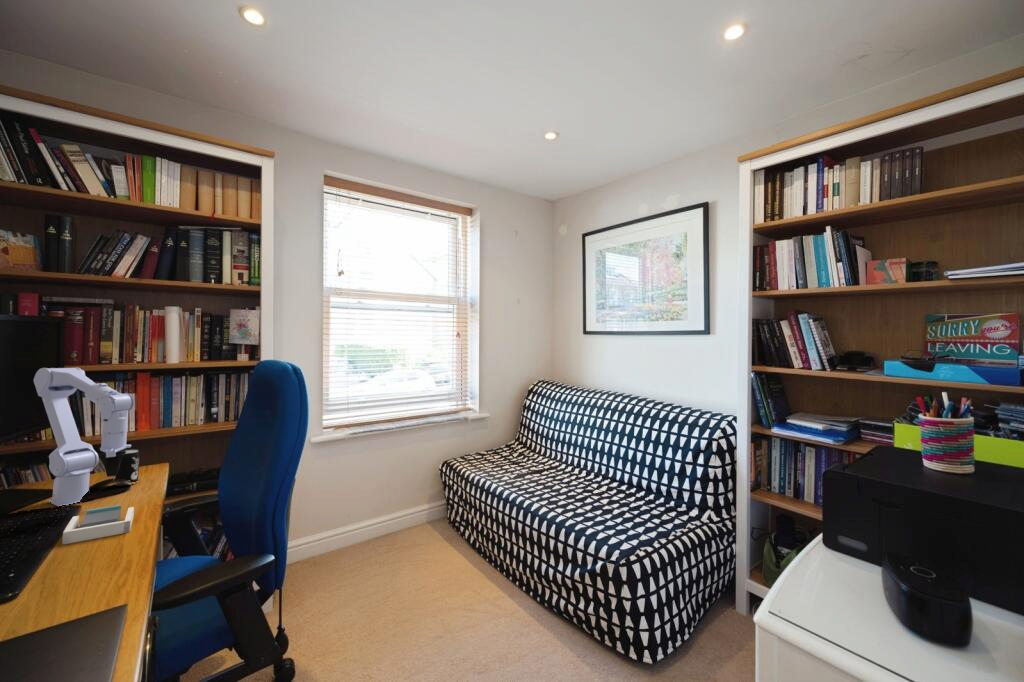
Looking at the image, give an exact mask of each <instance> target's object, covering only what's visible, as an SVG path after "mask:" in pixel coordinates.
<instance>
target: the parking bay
mask: <svg viewBox="0 0 1024 682" xmlns="http://www.w3.org/2000/svg"><path fill="white" fill-rule="evenodd" d="M134 513H135V506H130V507H128V509H127V511H126V515H125V519H124V520H119V522H113V523H107V524H101V525H95V526H90V527H84V528H80V515H75V516H74V515H73V516H72V518H71V519H70V521H69V522H68V524H67V525H66V527H65V529H64V530H63V532H62V543H61V544H62V546H63V545H68V544H73V543H78V542H84V541H90V540H93V539H94V540H95V539H99V538H105V537H109V536H110V537H111V536H116V535H120V534H121V535H122V534H126V533H131V528H132V525H133V520H134V517H135V515H134Z"/></svg>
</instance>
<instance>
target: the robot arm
mask: <svg viewBox="0 0 1024 682" xmlns="http://www.w3.org/2000/svg"><path fill="white" fill-rule="evenodd" d="M33 384H34V386H35V389H36V393H37V397H41V400H42V402H43V405H44V409H45V412H46V414H47V418H48V421H49V424H50V427H51V429H52V430H51V431H52V433H53V436H54V439H55V443H56V445H57V447H56V448H55V449H54V450H52V452H50V454H49V455H48V458H49V465H48V468H49V471H50V473H51V474H53V476H54V477H55V478H54V480H53V484H52V485H53V486H52V499H48V500H47V502H48V501H49V502H48V503H50V502H51V503H50V504H52V505H55V506H57V507H59V506H62V505H66V506H70V505H69V504H71V505H74V504H73V503H75V504H78V503H77V502H80V500H81V499H82V497H83V496H84V495H85V494H86V493H87V492H88V491H89V492H90V477H91V476H90V475H91V472H93V471H94V468H95V467H97V465H98V463H99V460H101V461H102V463H103V465H104V469H105V473H106V476H107V478H108V477H109V478H110V477H114V476H116V475H117V473H118V470H119V466H120V463H121V460H122V458H123V456H124V455H125V453H126V451H125V450H126V449H127V448H128V449H129V448H131V447H132V444H127V440H128V439H127V437H128V436H127V435H128V423H129V422H128V421H129V411H131V410H132V409H133V407H134V403H135V400H134V398H133V396H132V394H130V393H128V392H127V393H126V392H124V393H120V392H118V391H117V390H116V389H114V388H112V387H110V386H108V383H105V382H102V383H101V382H99V383H96V382H94V381H93V380H92V379H90V377H87V376H86V372H85V370H83V369H81V367H78V366H77V367H57V368H56V367H50V368H48V367H42V368H39V369H38V370H37V371H36V373H35V375H34V378H33ZM77 389H78V390H80V391H81V392H83V393H84V396H85V398H86V399H87V400H90V401H91V402H93V403H95V404H96V405H97V408H98V410H99V412H100V419H102V429H101V442H100V445H101V446H100V447H99V450H100V451H101V452H103V453H101V454H100V456H99V454H98V452H97V451H96V450H95V449H94V447H93V444H90V443H89V442H88V443H87V442H85V441H82V439H81V436H80V434H79V430H78V428H77V424H76V421H75V418H74V416H73V412H72V410H71V407H70V404H69V401H68V397H70V396H71V395H74V394H75V392H76V391H77ZM99 457H100V459H99ZM80 503H81V502H80ZM62 507H63V506H62Z"/></svg>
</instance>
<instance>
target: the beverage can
mask: <svg viewBox="0 0 1024 682" xmlns="http://www.w3.org/2000/svg"><path fill="white" fill-rule="evenodd" d="M124 451H126V453H125V455H124V456H123V458H122V460H121V463H120V466H119V470H118V473H117V475H116V476H113V480H114V479H125V480H130V481H131V482H136V481H139V471H140V470H139V468H140V453H139V450H138V449H124ZM136 483H137V482H136Z"/></svg>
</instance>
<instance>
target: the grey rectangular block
mask: <svg viewBox="0 0 1024 682" xmlns="http://www.w3.org/2000/svg"><path fill="white" fill-rule="evenodd" d="M85 511H86V513H85V515H84V517H83V519H82V521H81V523H79V528H84V527H90V526H95V525H101V524H107V523H113V522H119V521H121V515H122V504H117V505H112V506H111V505H110V506H105V507H97V508H91V509H86V510H85Z"/></svg>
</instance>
